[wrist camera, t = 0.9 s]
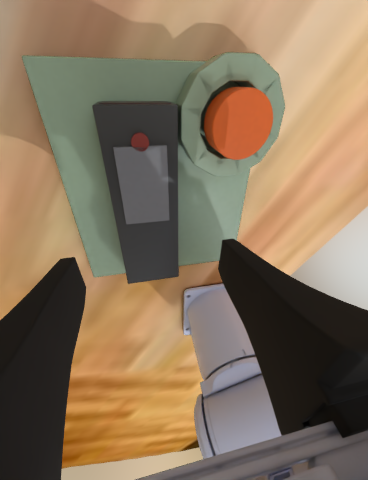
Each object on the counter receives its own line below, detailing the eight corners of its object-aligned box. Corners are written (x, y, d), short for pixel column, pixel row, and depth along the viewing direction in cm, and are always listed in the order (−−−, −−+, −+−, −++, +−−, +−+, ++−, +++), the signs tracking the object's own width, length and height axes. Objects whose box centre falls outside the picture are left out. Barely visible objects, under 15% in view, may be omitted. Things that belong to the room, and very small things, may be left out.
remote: (174, 259, 21) (179, 278, 19) (128, 265, 20) (128, 285, 18) (171, 100, 13) (178, 103, 11) (96, 100, 13) (91, 103, 11)
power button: (252, 151, 15) (265, 158, 13) (201, 154, 14) (209, 161, 13) (264, 87, 13) (281, 87, 11) (205, 86, 12) (215, 86, 11)
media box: (231, 249, 24) (245, 271, 21) (95, 267, 22) (90, 294, 19) (265, 60, 14) (298, 54, 12) (29, 52, 12) (-1, 42, 9)
